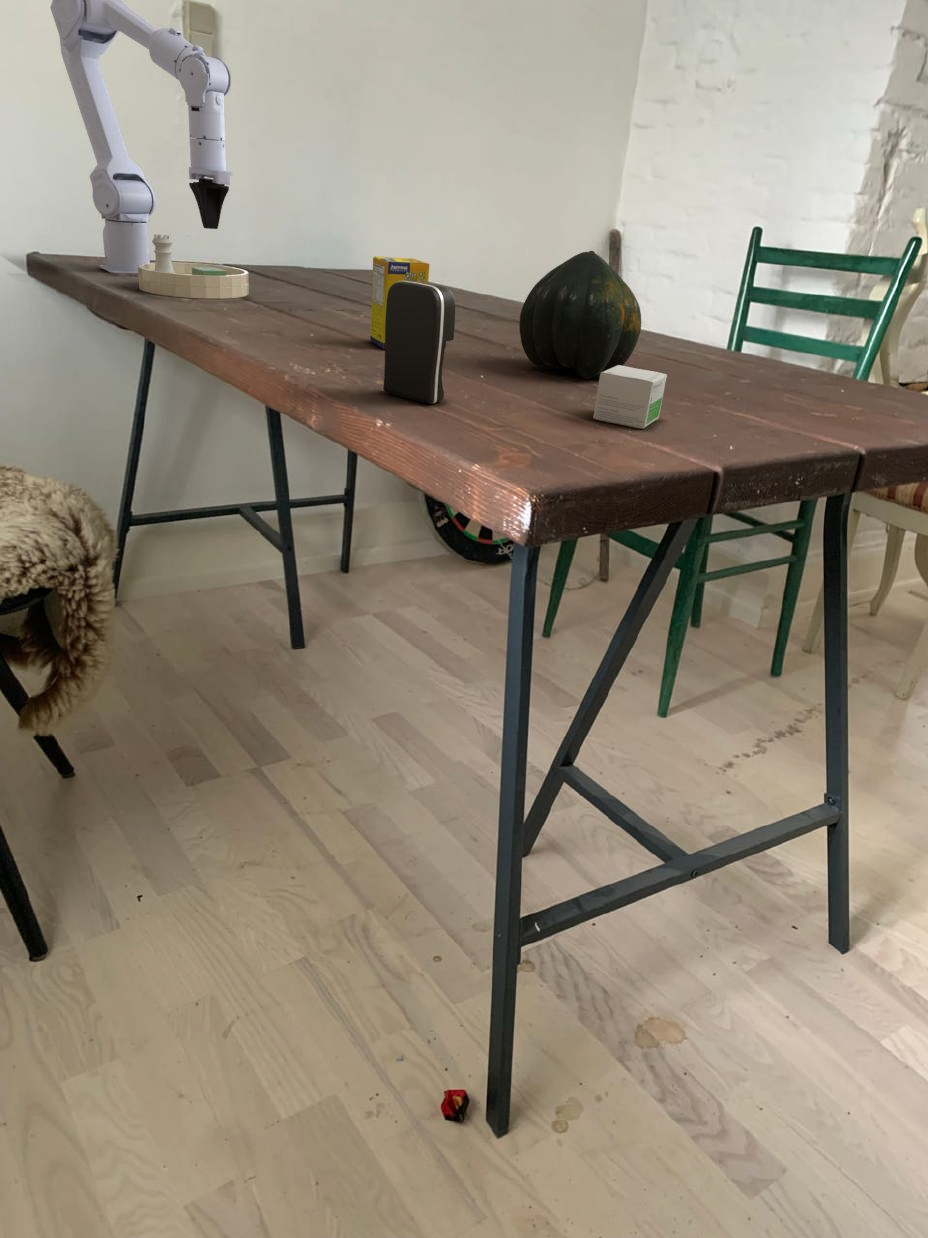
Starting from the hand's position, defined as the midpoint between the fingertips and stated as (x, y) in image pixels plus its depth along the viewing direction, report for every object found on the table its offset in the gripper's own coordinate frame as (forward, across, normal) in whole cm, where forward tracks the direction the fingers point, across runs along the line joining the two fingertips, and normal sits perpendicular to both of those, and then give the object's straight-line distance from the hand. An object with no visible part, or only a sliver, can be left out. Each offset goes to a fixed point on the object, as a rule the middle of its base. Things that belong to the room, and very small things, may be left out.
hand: (210, 228), depth 156 cm
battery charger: (+10, -84, +8) cm, 85 cm away
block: (+9, -16, +6) cm, 19 cm away
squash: (+10, -76, -20) cm, 79 cm away
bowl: (+9, -11, +7) cm, 16 cm away
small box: (+10, -98, -9) cm, 99 cm away
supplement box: (+10, -57, -5) cm, 58 cm away
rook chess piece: (+9, -8, +11) cm, 16 cm away
